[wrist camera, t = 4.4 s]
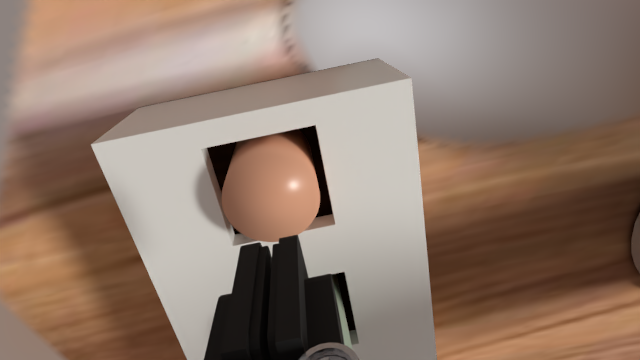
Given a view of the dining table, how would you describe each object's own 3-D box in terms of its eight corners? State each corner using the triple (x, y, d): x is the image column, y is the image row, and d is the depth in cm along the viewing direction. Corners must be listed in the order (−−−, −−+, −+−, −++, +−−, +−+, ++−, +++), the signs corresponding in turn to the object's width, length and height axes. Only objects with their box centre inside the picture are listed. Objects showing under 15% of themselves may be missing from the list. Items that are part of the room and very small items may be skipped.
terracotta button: (303, 112, 20) (309, 144, 16) (317, 183, 22) (327, 231, 17) (224, 128, 20) (209, 165, 16) (245, 198, 22) (236, 250, 17)
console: (378, 58, 22) (411, 78, 16) (414, 353, 31) (443, 430, 25) (138, 107, 22) (90, 144, 16) (245, 389, 31) (238, 473, 25)
